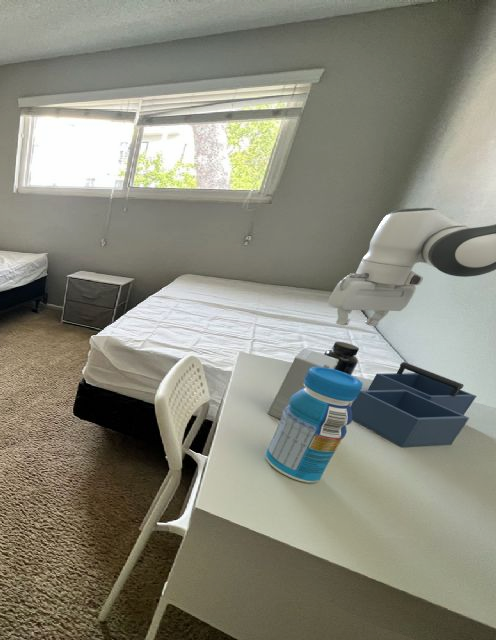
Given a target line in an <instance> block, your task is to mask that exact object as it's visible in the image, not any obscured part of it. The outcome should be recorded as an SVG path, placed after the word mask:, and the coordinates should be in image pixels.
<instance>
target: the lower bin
mask: <svg viewBox="0 0 496 640" xmlns="http://www.w3.org/2000/svg"><path fill="white" fill-rule="evenodd" d="M350 407H351V410H352V421H354V422H356V423H358V424H359V425H361V426H363V427H365V428H367V429H368V430H370V431H371V432H373V433H376V434H377V435H379V436H381V437H382V438H384V439H386V440H387V441H390V442H391V443H393V444H395V445H397V446H398V447H399V448H400V447H401V448H413V447H414V448H417V447H435V446H452V444H453V443H454V441H455V440H456V438H457V437H458V436H459V434H460V433H461V431H462V430H463V429H464V427H465V425H466V424H467V422H468V421H469V419H470V417H468V416H466V415H465V414H464V415H462V414H459V413H457V412H455V411H453V410H450V409H448V408H446V407H443V406H441V405H439V404H437V403H434V402H432V401H430V400H427V399H425V398H423V397H421V396H418V395H416V394H414V393H411V392H409V391H407V390H368V389H367V390H361V391H360V393H359V394H358V396H357V398H356V399H355V400H354V401H353V402H351V404H350Z"/></svg>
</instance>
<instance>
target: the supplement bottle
mask: <svg viewBox="0 0 496 640" xmlns="http://www.w3.org/2000/svg"><path fill="white" fill-rule="evenodd" d="M359 350H360V348H359V347H358V346H356V345H354V344H351V343H348V342H344V341H335V342H334V344H333V346H332V347H331V349H328V350H326V351H325V352H324V353H323V354H324V355H326V356H329V357H333V358H336V359H338V360H339V361H338V363H337V365H336V367H335V369H334V370H338V371H341V372H344V373H347V374H349V375H351V376H353V373H354V371H355V369H356V368H357V365H358V363H359V359H358V357H356V356H357V355H358V352H359Z"/></svg>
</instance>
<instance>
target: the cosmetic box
mask: <svg viewBox="0 0 496 640" xmlns="http://www.w3.org/2000/svg"><path fill="white" fill-rule="evenodd" d="M338 361H339V360H338V359H336V358H333V357H329V356H326V355H324V353H320V352H318V351H315V350H312V349H309V348H303V349H301V350H300V351H299V352H298V354H296V356H295V357H294V359H293V361H292V364H291V365H290V367H289V370H288V371H287V373H286V376H285V377H284V379H283V381H282V383H281V385H280V387H279V390H278V391H277V393H276V395H275V397H274V399H273V401H272V403H271V404H270V407H269V408H268V411H267V414H268V415H270V416H272V417H273V418H275V419H276V418H277V419H279V420H281V418H282V414H283V411H284V409H285V408H286V407H287V406H288V405H290V402H289V400H290V398H291V396H292V395H293V394H295V393H296V392H298V391H299V390H301V389H303V388H306V387H305V386H304V380H305V377H306V375H307V373H308V371H309V370H310V368H312V367H325V368H330V369H335V367H336V365H337V363H338Z"/></svg>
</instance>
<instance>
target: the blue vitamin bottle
mask: <svg viewBox="0 0 496 640" xmlns="http://www.w3.org/2000/svg"><path fill="white" fill-rule="evenodd" d="M304 386H305V387H306V388H303V389H301V390H299V391H298V392H296V393H295V394H293V395H292V396H291V398H290V400H289V402H290V405H288V406H287V407H286V408H285V409H284V411H283V414H282V418H281V419H279V423H278V425H277V428H276V430H275V432H274V434H273V437H272V439H271V442H270V443H269V445H268V448H267V450H266V452H265V459H266V461H267V462H268V463H269V465H270V466H272V468H274V470H276V471H277V472H279V473H281V474H282V475H284V476H286V477H288V478H291V479H292V480H295V481H299V482H302V483H308V484H313V483H317V482H319V481H320V480H321V479H322V477H323V475H324V472H325V470H326V468H327V467H328V465H329V463H330V461H331V459H332V458H333V457H334V454H335V452H336V450H337V448H338V447H339V445H340V443H341V441H342V440H343V439H344V438H345V437H346V434H347V426H348V425H350V424H352V421H353V420H352V410H351V407H350V406H351V404H350V403H353V401H354V400H355V399H356V398H357V396H358V394H359V393H360V391H362V389H363V382H362V381H361V380H360V379H358V378H357V377H355V376H354V375H349V374H347V373H344V372H341V371H338V370H334V369H330V368H325V367H312V368H310V370H309V371H308V373H307V375H306V377H305V380H304Z"/></svg>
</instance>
